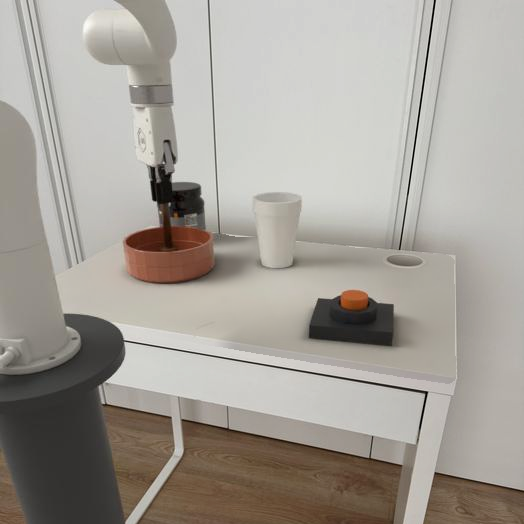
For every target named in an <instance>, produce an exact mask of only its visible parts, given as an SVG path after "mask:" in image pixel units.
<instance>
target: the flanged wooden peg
mask: <svg viewBox="0 0 524 524" xmlns="http://www.w3.org/2000/svg"><path fill="white" fill-rule="evenodd" d="M161 214H162V223H163V233H164V242H165V245H164V246H161V247H160V252H172V251H178V246H176V245H173V242H172V231H171V221H170V211H169V203H165V204H161Z"/></svg>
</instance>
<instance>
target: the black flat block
mask: <svg viewBox="0 0 524 524" xmlns="http://www.w3.org/2000/svg"><path fill="white" fill-rule="evenodd" d="M340 304H341V294H339V295H337V296H335V297H334V298H325V297H324V298H322V297H318V298H317V300H316V303H315V306H314V309H313V313H312V315H311V318H310V321H309V323H308V339H314V340H322V341H323V340H324V341H335V342H345V343H356V344H366V345H376V346H387V347H392V346H393V340H394V331H395V330H394V327H395V326H394V322H395V321H394V320H395V318H394V317H395V315H394V314H395V304H394V303H385V302H377V301H376V300H375V299H374V298H372V297H370V296H368V305H367V308H365V309H360V310H352V309H347V308H344V307H341V305H340Z"/></svg>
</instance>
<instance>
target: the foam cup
mask: <svg viewBox="0 0 524 524" xmlns="http://www.w3.org/2000/svg"><path fill="white" fill-rule="evenodd" d="M302 199H303V198H302V196H301V195H300V194H297V193H293V192H287V191H285V192H283V191H271V192H270V191H269V192H263V193H257V194H256V195H253V197H252V212H253V215H254V216H253V217H254V222H255V228H256V237H257V244H258V250H259V256H260V263H261V265H262V266H264V267H267V268H271V269H284V268H288V267H291V266H292V265H293V261H294V255H295V248H296V242H297V235H298V229H299V224H300V223H299V222H300V215H301V212H302V203H303V201H302Z"/></svg>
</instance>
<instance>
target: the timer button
mask: <svg viewBox="0 0 524 524" xmlns="http://www.w3.org/2000/svg"><path fill="white" fill-rule="evenodd" d="M340 295H341V304H340V305H341V307H344V308H347V309H352V310H360V309H365V308H367V305H368V297H369V294H368V293H367V292H365V291H364V290H360V289H347V290H344V291H342V292H341V294H340Z"/></svg>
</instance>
